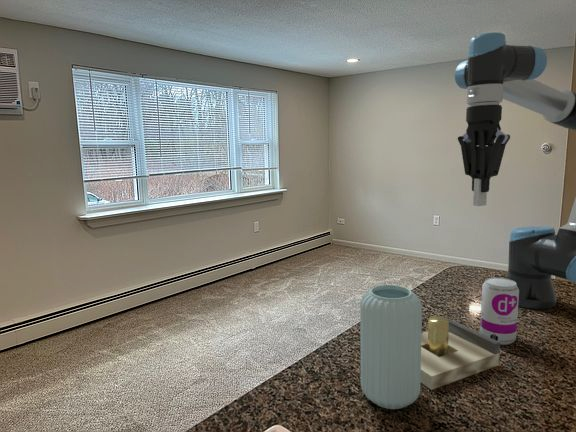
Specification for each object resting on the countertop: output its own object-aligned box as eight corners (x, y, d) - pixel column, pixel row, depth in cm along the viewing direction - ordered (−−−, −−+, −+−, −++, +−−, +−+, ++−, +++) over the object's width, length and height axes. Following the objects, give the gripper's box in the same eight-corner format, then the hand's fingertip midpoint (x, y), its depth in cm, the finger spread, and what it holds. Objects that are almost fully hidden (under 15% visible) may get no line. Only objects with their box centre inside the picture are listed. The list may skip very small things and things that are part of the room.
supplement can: (520, 346, 102) (524, 288, 100) (484, 344, 104) (487, 286, 101) (510, 332, 110) (513, 277, 107) (476, 330, 112) (478, 276, 109)
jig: (444, 337, 108) (445, 316, 107) (498, 365, 94) (500, 342, 93) (382, 355, 100) (382, 334, 99) (431, 389, 86) (432, 365, 85)
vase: (357, 381, 90) (356, 282, 86) (411, 380, 89) (413, 280, 85) (365, 416, 78) (365, 303, 75) (427, 415, 78) (430, 301, 74)
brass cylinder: (437, 354, 100) (438, 314, 98) (451, 362, 96) (453, 321, 94) (423, 359, 98) (424, 318, 96) (437, 367, 94) (438, 325, 92)
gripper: (450, 107, 102) (447, 203, 106) (497, 102, 90) (492, 210, 94) (472, 107, 105) (468, 201, 109) (520, 102, 93) (514, 207, 97)
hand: (479, 205), depth 102 cm, fingers closed
